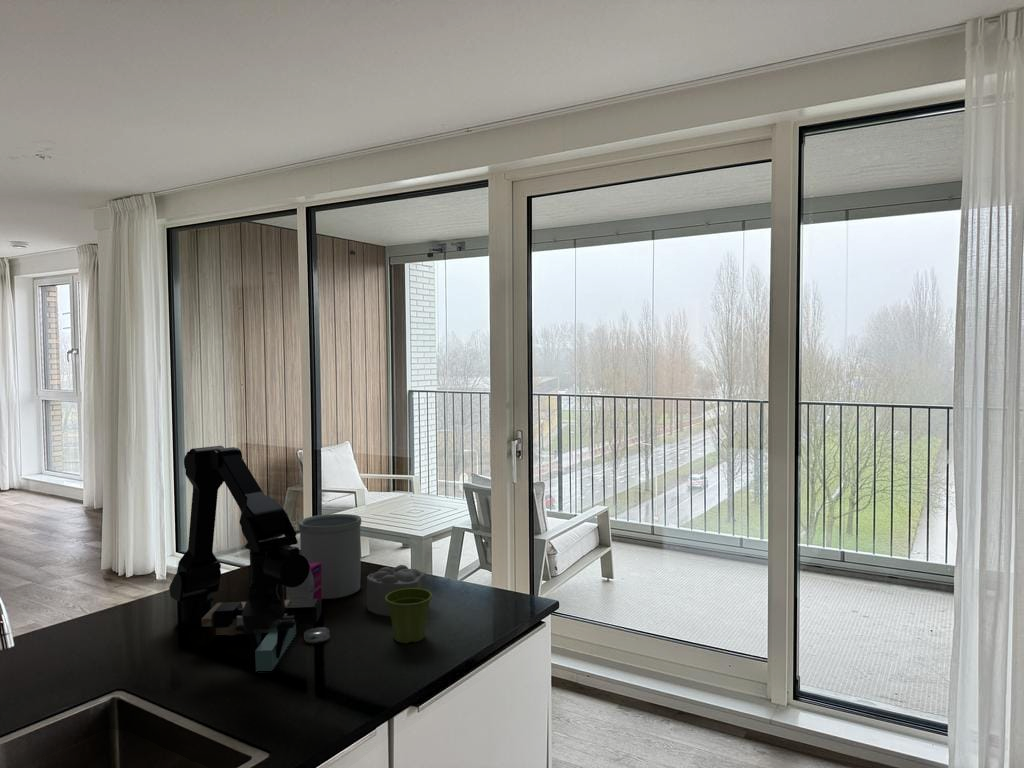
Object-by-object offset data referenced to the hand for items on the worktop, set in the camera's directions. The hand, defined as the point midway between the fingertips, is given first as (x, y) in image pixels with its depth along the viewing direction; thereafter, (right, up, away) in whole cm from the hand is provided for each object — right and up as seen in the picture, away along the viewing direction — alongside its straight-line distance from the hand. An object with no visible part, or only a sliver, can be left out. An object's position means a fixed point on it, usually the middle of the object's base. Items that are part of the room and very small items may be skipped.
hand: (269, 658), depth 129 cm
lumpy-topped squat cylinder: (+19, 0, +29) cm, 34 cm away
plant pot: (+25, -1, +11) cm, 27 cm away
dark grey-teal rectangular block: (0, -1, +5) cm, 5 cm away
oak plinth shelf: (-8, -1, +11) cm, 13 cm away
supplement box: (-1, -1, +24) cm, 24 cm away
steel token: (+6, -1, +12) cm, 13 cm away
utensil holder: (+1, 0, +42) cm, 42 cm away
